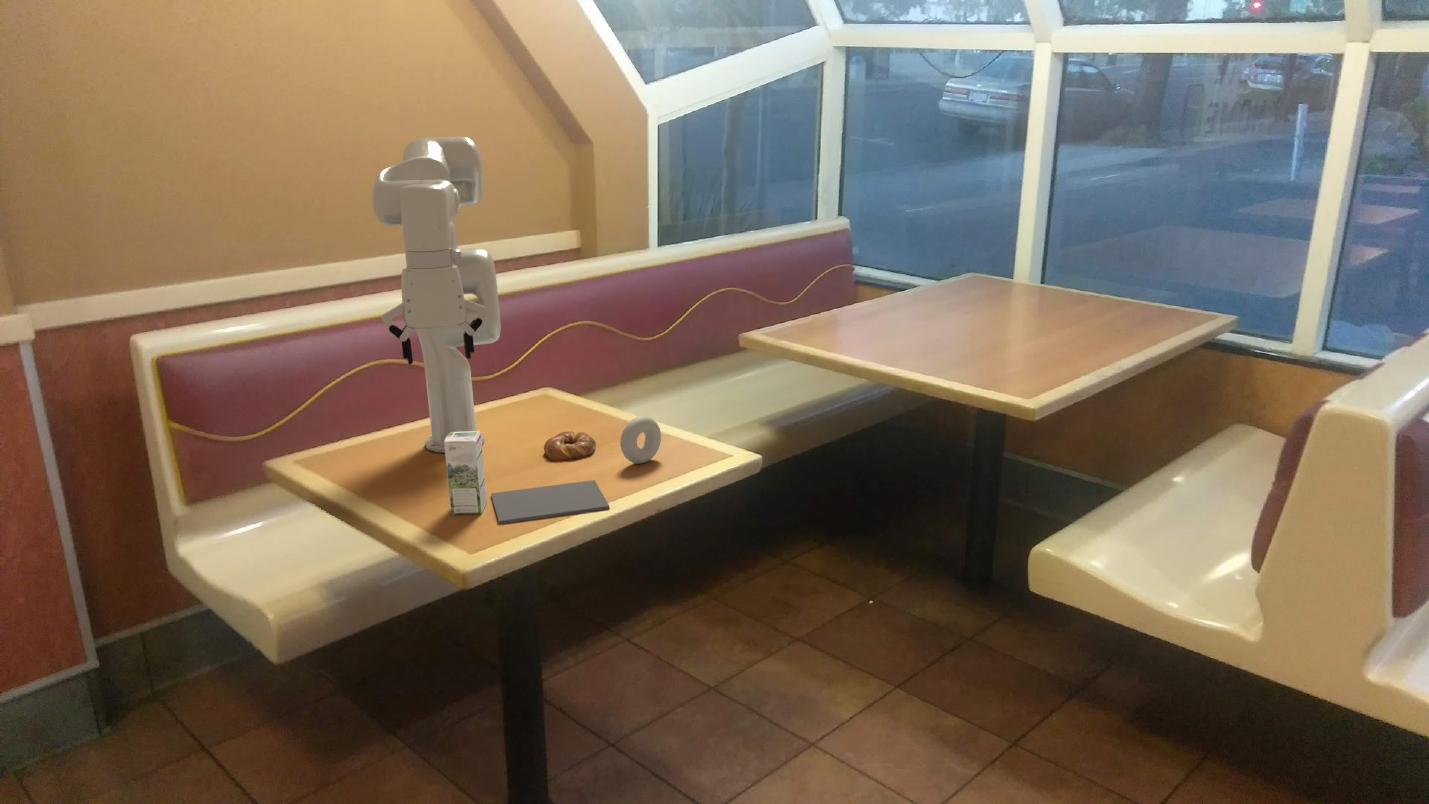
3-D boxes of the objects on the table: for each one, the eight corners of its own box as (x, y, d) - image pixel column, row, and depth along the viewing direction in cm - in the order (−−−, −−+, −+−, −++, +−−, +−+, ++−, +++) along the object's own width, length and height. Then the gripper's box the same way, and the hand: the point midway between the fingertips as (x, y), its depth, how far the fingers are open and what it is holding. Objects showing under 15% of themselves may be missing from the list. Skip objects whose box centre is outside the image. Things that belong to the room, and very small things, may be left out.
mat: (491, 496, 193) (491, 493, 192) (594, 482, 198) (594, 480, 198) (499, 524, 180) (499, 520, 180) (609, 508, 186) (609, 505, 185)
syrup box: (487, 502, 190) (481, 429, 186) (482, 515, 184) (475, 439, 180) (457, 503, 190) (450, 430, 185) (450, 515, 184) (442, 440, 180)
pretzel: (573, 466, 209) (571, 449, 208) (532, 458, 214) (530, 441, 213) (607, 448, 219) (606, 432, 218) (567, 441, 224) (565, 425, 223)
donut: (654, 454, 213) (652, 409, 211) (665, 458, 211) (663, 412, 208) (617, 466, 207) (615, 420, 204) (628, 470, 204) (626, 424, 202)
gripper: (479, 253, 174) (488, 350, 179) (374, 260, 169) (386, 359, 174) (484, 259, 167) (493, 359, 172) (375, 266, 162) (387, 369, 167)
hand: (439, 359), depth 173 cm, fingers open, 9 cm apart
